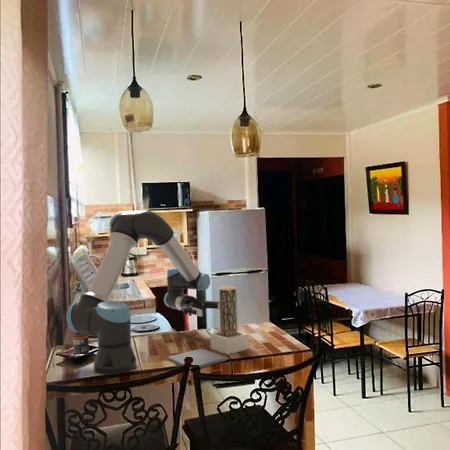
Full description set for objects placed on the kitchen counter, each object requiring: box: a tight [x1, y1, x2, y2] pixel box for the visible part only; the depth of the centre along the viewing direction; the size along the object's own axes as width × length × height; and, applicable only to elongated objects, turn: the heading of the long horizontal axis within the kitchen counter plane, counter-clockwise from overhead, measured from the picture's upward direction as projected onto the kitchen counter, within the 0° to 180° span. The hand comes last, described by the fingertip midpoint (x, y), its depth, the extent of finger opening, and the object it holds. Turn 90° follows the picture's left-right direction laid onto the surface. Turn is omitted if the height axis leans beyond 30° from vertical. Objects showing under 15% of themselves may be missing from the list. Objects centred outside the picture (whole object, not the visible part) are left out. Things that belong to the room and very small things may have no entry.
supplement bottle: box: [72, 332, 90, 356], centre depth 187 cm, size 6×6×11 cm
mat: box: [167, 348, 228, 368], centre depth 177 cm, size 16×16×1 cm
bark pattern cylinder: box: [219, 285, 238, 338], centre depth 190 cm, size 7×7×25 cm
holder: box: [209, 330, 249, 355], centre depth 191 cm, size 11×11×6 cm
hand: (214, 310), depth 198 cm, fingers open, 13 cm apart
